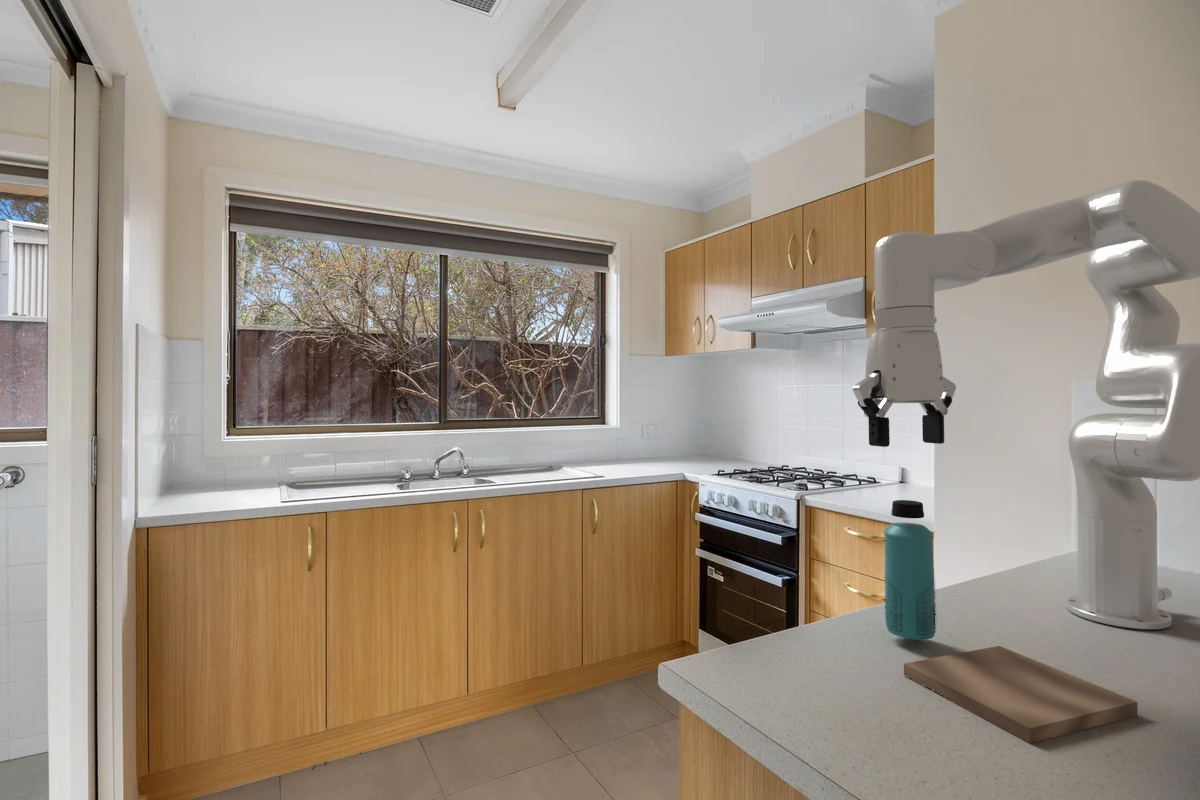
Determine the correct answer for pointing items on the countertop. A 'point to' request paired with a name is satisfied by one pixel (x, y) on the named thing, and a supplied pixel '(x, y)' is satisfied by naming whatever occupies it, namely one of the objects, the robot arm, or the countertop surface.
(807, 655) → the countertop surface
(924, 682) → the walnut board
